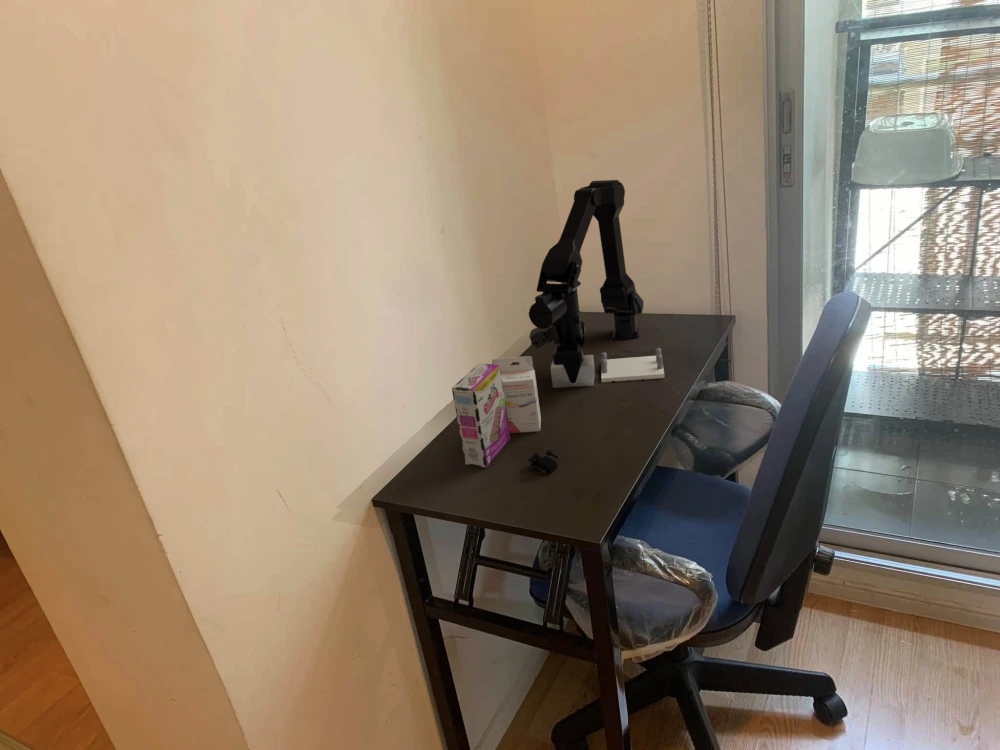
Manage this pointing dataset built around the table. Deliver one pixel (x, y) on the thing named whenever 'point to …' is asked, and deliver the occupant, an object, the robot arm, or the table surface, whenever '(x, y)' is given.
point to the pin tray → (632, 368)
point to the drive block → (583, 378)
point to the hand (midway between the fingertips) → (573, 376)
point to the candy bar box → (481, 414)
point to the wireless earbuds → (543, 462)
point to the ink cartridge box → (520, 394)
